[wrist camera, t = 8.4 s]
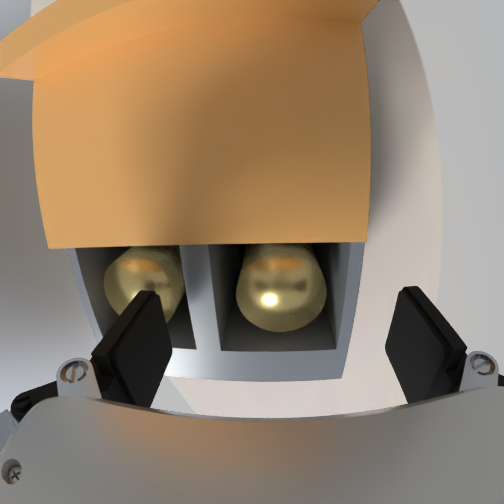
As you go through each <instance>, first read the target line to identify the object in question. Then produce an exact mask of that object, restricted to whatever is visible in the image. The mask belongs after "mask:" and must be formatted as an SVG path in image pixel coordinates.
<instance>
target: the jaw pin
mask: <svg viewBox="0 0 504 504" xmlns="http://www.w3.org/2000/svg"><path fill="white" fill-rule="evenodd" d="M326 295H327V289H326V283H325V280H324V277H323V274H322V272H321V269H320V266H319V264H318V261H317V258H316V256H315V253H314V251H313V248H312V245H311V243H249V244H247V245H246V250H245V254H244V258H243V263H242V267H241V271H240V276H239V280H238V284H237V290H236V298H237V303H238V306H239V308H240V310H241V312H242V313H243V315H244V316H245V317H246V318H247V319H248V320H249V321H250V322H251V323H253V324H254V325H256V326H258V327H259V328H262V329H265V330H268V331H273V332H287V331H293V330H296V329H299V328H301V327H303V326H305V325H307V324H309V323H310V322H311V321H313V320H314V319H315V318H316V317H317V316H318V314H319V313H320V312H321V310H322V308H323V306H324V304H325V301H326Z"/></svg>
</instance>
